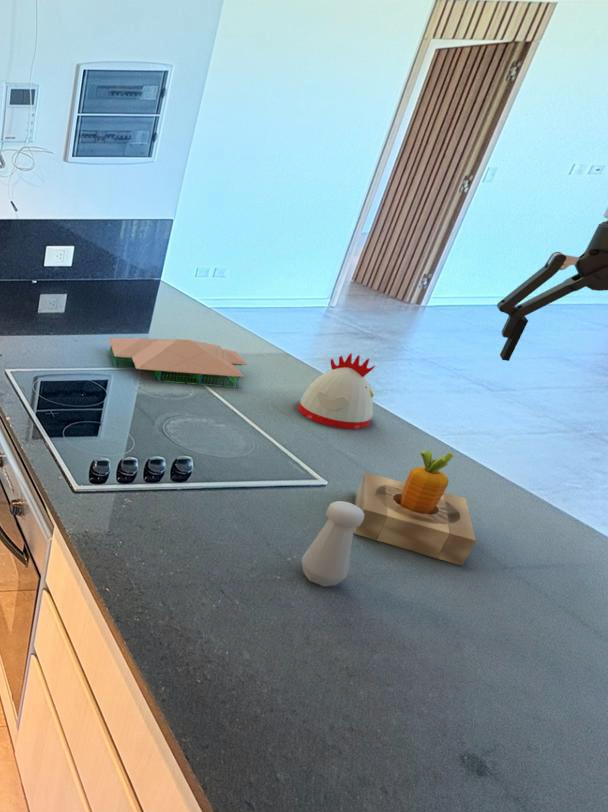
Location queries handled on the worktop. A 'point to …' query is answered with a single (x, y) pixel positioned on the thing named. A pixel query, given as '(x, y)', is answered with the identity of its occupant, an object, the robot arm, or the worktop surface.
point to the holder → (414, 521)
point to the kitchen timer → (340, 396)
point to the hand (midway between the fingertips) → (563, 367)
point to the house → (178, 357)
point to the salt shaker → (333, 545)
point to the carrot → (425, 484)
